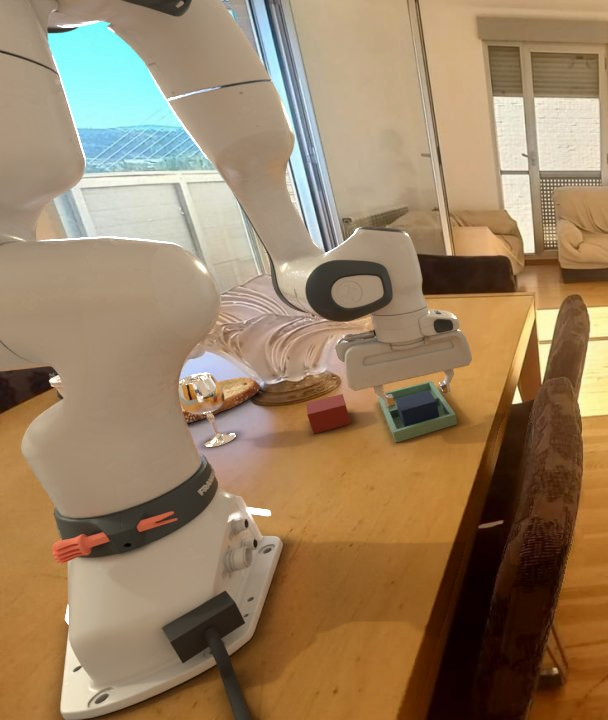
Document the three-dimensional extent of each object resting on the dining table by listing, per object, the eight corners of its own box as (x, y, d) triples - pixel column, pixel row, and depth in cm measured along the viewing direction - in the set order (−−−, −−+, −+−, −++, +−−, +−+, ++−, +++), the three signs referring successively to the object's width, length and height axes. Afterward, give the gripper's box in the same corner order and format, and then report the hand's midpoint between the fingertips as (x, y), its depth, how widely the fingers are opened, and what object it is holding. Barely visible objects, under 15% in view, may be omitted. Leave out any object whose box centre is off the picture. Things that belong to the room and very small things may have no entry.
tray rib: (439, 404, 93) (438, 397, 92) (391, 418, 88) (389, 411, 88) (439, 403, 93) (437, 396, 92) (391, 416, 89) (389, 409, 88)
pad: (440, 420, 87) (436, 401, 85) (406, 430, 84) (401, 410, 82) (432, 408, 91) (429, 390, 90) (399, 417, 88) (395, 399, 87)
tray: (457, 424, 87) (455, 414, 86) (395, 443, 81) (392, 432, 81) (433, 389, 100) (431, 380, 99) (379, 403, 95) (377, 394, 94)
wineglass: (217, 450, 81) (190, 387, 76) (190, 447, 82) (162, 385, 77) (248, 432, 86) (224, 372, 81) (222, 430, 87) (197, 370, 82)
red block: (350, 423, 88) (345, 404, 86) (313, 434, 85) (307, 414, 83) (347, 412, 92) (342, 393, 91) (312, 421, 89) (306, 402, 88)
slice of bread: (267, 383, 105) (262, 368, 104) (227, 423, 89) (219, 406, 88) (173, 394, 101) (166, 378, 100) (113, 438, 85) (103, 420, 84)
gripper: (333, 342, 72) (355, 422, 77) (467, 318, 82) (479, 390, 87) (331, 332, 77) (352, 407, 82) (458, 310, 87) (470, 379, 92)
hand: (418, 398), depth 85 cm, fingers open, 8 cm apart
